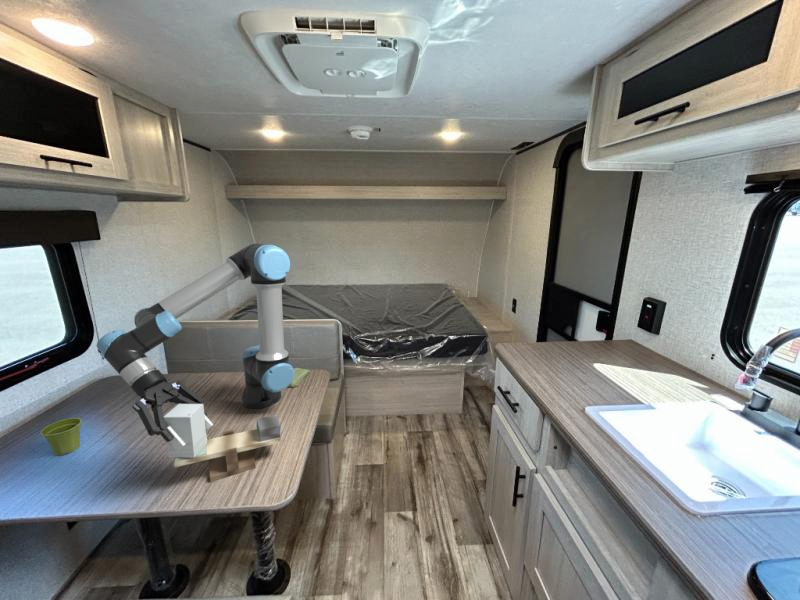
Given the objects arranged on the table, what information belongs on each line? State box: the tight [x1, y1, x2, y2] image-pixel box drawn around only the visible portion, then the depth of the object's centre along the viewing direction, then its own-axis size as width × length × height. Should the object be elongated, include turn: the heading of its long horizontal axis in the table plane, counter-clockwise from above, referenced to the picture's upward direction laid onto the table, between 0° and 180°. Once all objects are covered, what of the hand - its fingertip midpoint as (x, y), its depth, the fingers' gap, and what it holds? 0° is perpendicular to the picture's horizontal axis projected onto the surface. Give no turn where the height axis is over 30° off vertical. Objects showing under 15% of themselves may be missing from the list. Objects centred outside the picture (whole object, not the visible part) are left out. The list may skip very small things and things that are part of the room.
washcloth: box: [287, 367, 311, 389], centre depth 161 cm, size 13×18×3 cm
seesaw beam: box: [173, 414, 282, 468], centre depth 103 cm, size 28×8×6 cm, turn 120°
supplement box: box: [163, 403, 208, 459], centre depth 97 cm, size 7×7×13 cm
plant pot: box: [40, 417, 83, 456], centre depth 110 cm, size 9×9×9 cm
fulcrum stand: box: [208, 429, 256, 483], centre depth 104 cm, size 12×11×8 cm
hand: (196, 437), depth 96 cm, fingers closed on supplement box, 9 cm apart
